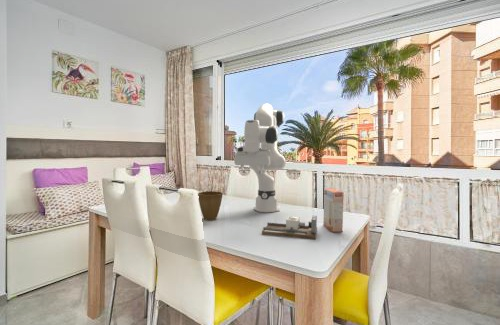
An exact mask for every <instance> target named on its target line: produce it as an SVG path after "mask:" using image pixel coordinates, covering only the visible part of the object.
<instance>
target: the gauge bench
mask: <svg viewBox="0 0 500 325" xmlns="http://www.w3.org/2000/svg"><path fill="white" fill-rule="evenodd" d="M265 227H269V228H280V229H286V227H283V226H272V225H267V224H266V226H265ZM298 230H303V231H307V234H305V233H295V232H284V231H273V230H263V229H262V231H261V234H262V235H266V236H267V235H268V236H275V237H287V238H295V239H296V238H298V239H299V238H300V239H308V240H316V237H317V232H318V229H317V230H316V234H311V228H309V229H307V228H299V229H298Z"/></svg>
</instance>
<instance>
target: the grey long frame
mask: <svg viewBox="0 0 500 325" xmlns="http://www.w3.org/2000/svg"><path fill="white" fill-rule="evenodd" d="M317 219H318V215H312V217H311V221H308V225H305V226H300V227H299V228H307V229H309V228H311V234H316V235H317V232H316V230H317V231H318V226H317V225H318V224H317V223H318V222H317V221H318V220H317ZM267 225H272V226H283V227H286V223H278V222H267V223H266V226H267ZM266 226H263V228H262V231H263V230H273V231H284V232H295V233H305V234H307V231H303V230H290V229H280V228H269V227H266Z"/></svg>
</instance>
